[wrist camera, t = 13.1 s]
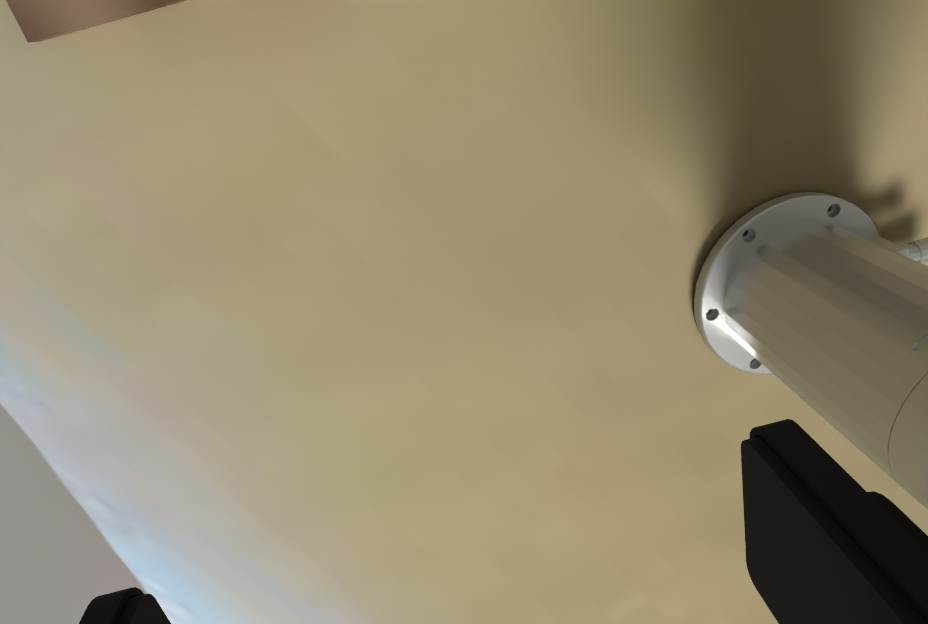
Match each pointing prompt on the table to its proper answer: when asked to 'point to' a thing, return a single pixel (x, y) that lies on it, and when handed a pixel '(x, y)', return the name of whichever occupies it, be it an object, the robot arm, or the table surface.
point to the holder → (74, 14)
